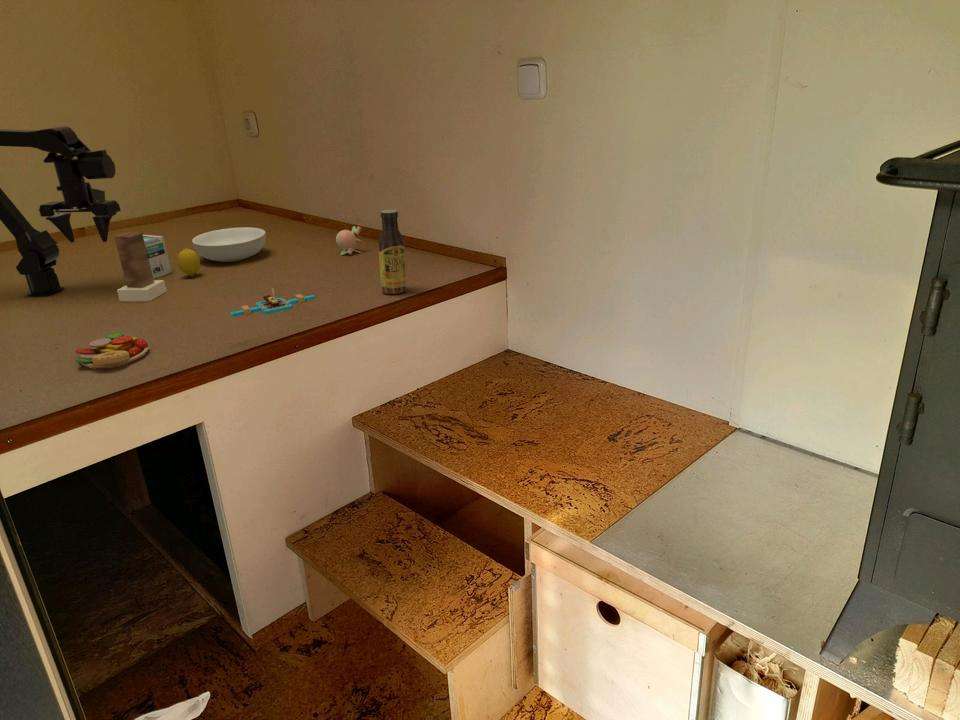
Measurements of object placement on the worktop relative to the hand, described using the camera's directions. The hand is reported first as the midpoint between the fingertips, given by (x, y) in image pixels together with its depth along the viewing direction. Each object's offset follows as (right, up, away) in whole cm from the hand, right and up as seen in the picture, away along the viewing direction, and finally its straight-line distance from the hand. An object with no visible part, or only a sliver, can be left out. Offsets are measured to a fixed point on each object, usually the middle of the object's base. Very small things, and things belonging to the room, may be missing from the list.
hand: (88, 242), depth 178 cm
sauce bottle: (+80, -14, -7) cm, 81 cm away
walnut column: (+15, -11, -3) cm, 19 cm away
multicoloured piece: (+51, -18, -12) cm, 56 cm away
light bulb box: (+7, -6, +17) cm, 20 cm away
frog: (+62, +2, +30) cm, 69 cm away
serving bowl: (+26, 0, +30) cm, 40 cm away
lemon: (+21, -7, +14) cm, 26 cm away
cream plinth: (+15, -14, -1) cm, 20 cm away
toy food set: (+27, -30, -38) cm, 55 cm away
